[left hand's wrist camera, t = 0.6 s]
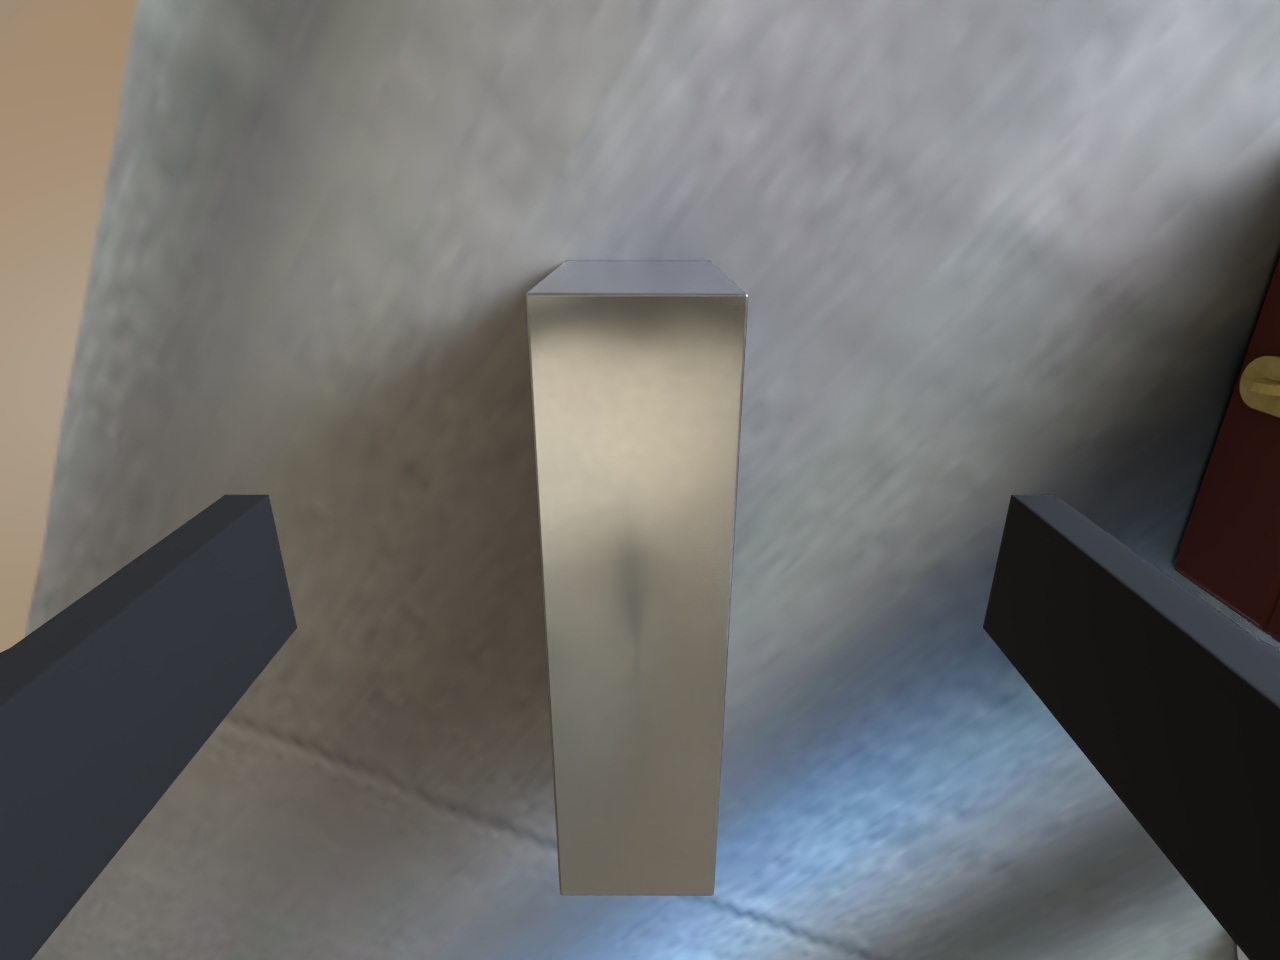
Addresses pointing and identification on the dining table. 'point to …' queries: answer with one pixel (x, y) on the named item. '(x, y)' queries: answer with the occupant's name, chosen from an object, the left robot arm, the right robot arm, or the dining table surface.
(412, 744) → the dining table surface
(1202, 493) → the box
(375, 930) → the dining table surface
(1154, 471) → the dining table surface
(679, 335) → the long box
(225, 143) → the dining table surface
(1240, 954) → the right robot arm
